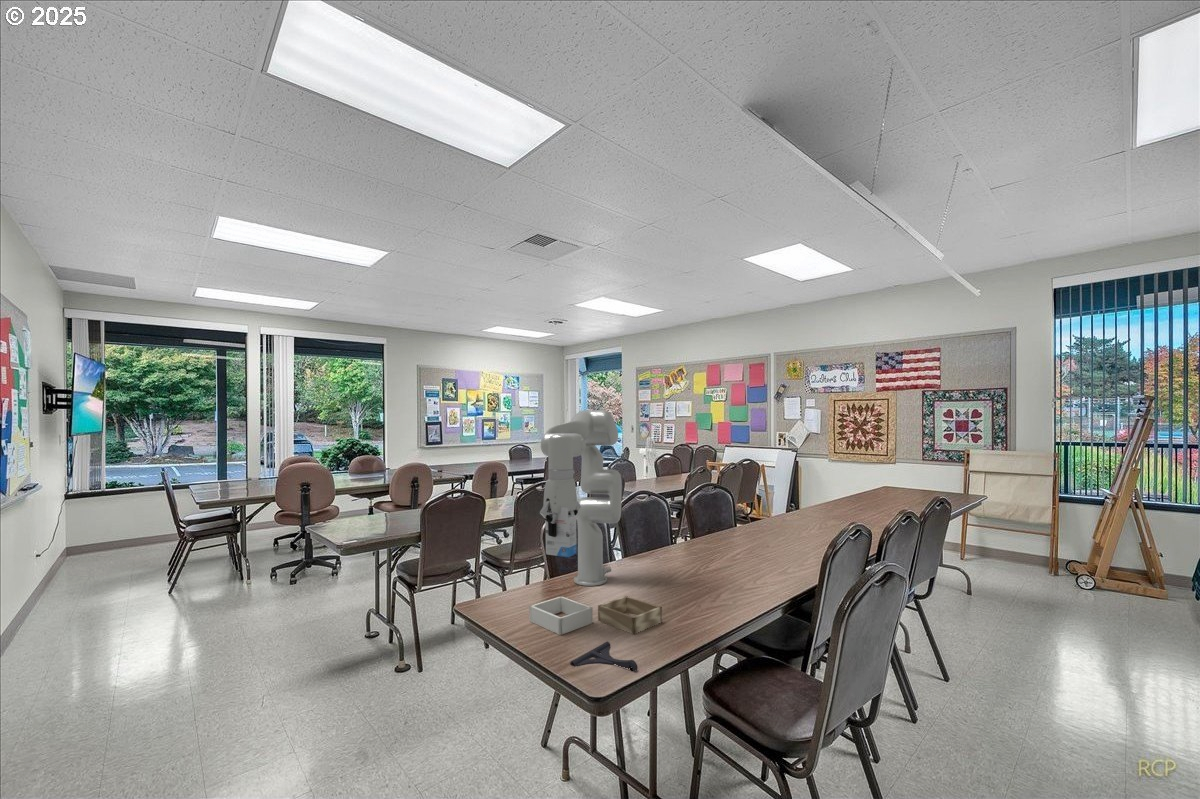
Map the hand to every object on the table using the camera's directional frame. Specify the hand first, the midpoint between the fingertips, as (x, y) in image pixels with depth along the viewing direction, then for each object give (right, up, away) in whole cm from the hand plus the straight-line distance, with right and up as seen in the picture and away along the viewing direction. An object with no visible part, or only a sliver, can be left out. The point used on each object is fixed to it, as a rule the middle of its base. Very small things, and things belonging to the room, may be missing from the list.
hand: (561, 533), depth 155 cm
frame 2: (+21, -26, -2) cm, 33 cm away
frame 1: (0, -26, -2) cm, 26 cm away
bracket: (+15, -26, -28) cm, 41 cm away
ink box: (0, -6, 0) cm, 6 cm away
